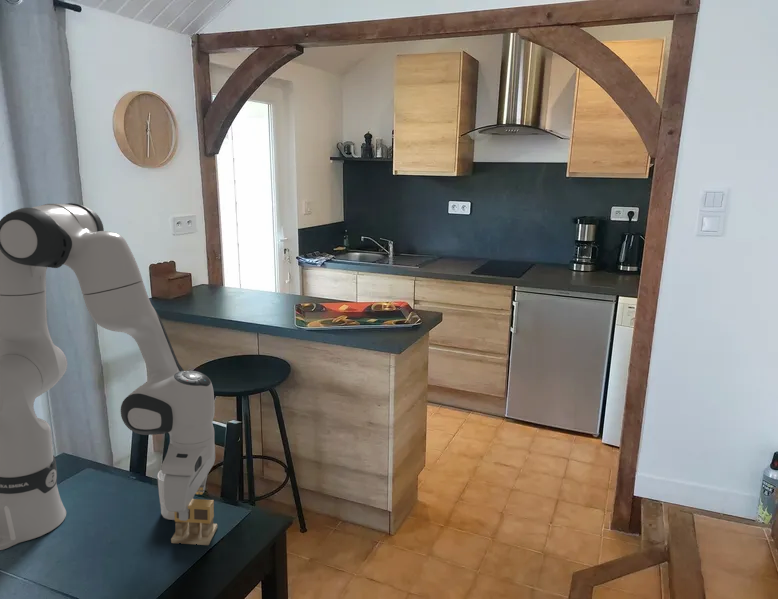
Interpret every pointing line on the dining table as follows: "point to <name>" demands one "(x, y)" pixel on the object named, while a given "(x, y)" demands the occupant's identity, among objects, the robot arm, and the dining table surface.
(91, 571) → the dining table surface
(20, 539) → the robot arm
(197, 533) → the display stand
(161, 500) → the white cup
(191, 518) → the tan rectangular block
